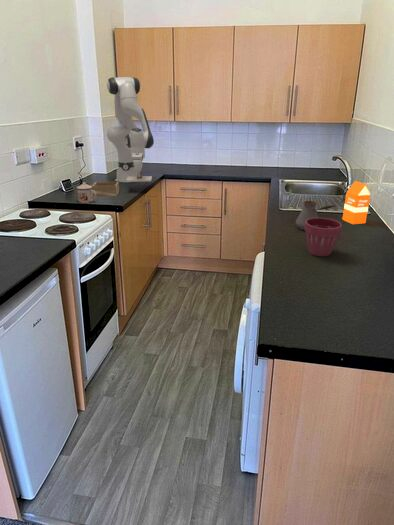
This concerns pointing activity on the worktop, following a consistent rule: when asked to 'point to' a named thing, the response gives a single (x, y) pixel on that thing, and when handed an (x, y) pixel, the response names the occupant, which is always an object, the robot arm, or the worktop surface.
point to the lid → (139, 178)
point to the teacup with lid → (85, 193)
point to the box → (105, 188)
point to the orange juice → (356, 203)
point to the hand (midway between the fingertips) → (139, 176)
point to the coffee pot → (308, 213)
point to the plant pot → (322, 235)
